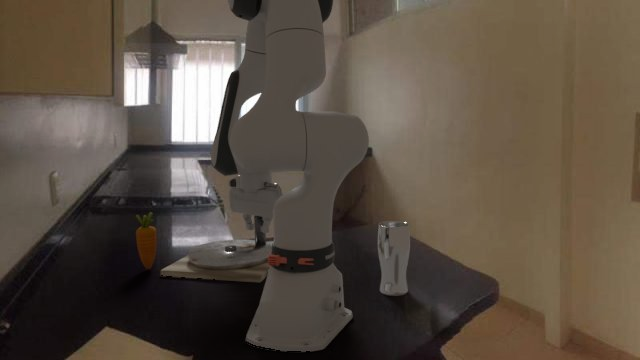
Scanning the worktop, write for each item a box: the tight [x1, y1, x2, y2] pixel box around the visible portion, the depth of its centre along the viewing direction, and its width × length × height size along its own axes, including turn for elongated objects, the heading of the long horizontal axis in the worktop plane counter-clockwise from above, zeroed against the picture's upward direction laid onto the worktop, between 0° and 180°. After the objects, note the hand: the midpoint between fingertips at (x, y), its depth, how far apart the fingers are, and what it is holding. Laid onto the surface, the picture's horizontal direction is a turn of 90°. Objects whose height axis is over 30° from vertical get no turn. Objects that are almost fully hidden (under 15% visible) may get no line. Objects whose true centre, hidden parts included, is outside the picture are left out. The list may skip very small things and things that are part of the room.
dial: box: [187, 215, 272, 270], centre depth 125 cm, size 22×22×10 cm
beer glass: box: [377, 220, 411, 297], centre depth 102 cm, size 7×7×15 cm
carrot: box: [135, 211, 158, 270], centre depth 120 cm, size 5×5×15 cm
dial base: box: [160, 254, 272, 283], centre depth 126 cm, size 26×26×2 cm
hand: (257, 231), depth 131 cm, fingers open, 5 cm apart
